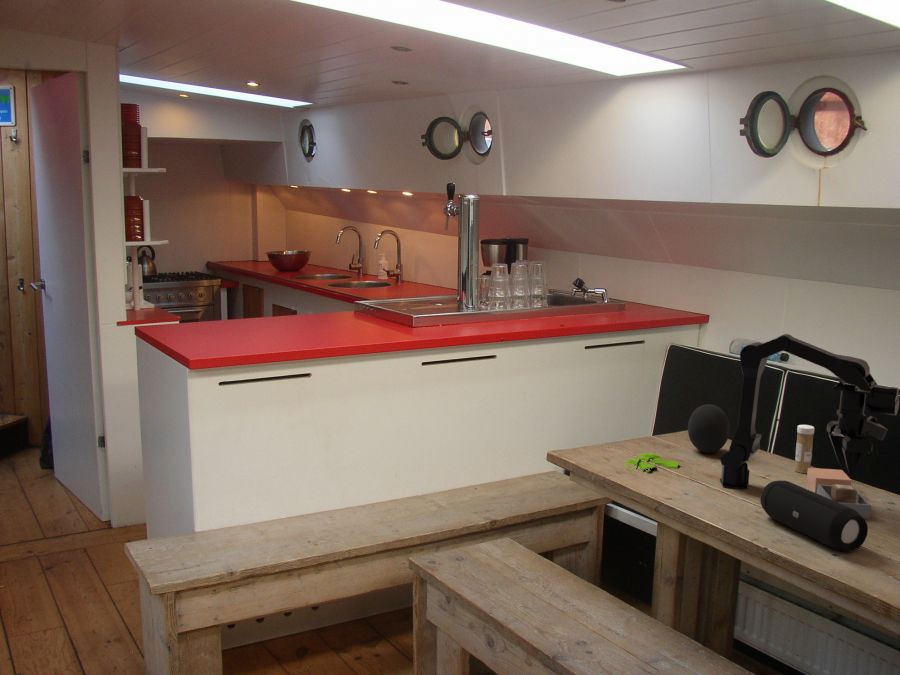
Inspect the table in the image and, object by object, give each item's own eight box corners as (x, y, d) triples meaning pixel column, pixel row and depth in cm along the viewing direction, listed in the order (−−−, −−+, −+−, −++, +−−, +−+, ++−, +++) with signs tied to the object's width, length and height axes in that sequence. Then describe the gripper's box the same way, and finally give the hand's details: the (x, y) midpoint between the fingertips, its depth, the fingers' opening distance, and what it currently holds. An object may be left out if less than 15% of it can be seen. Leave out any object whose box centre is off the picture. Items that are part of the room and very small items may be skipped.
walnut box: (834, 509, 228) (836, 488, 227) (829, 504, 232) (832, 483, 231) (854, 511, 227) (856, 489, 226) (850, 505, 231) (852, 484, 230)
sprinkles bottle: (811, 474, 256) (815, 428, 254) (794, 472, 258) (798, 427, 255) (809, 469, 261) (814, 425, 258) (793, 468, 262) (797, 423, 260)
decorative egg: (697, 458, 269) (701, 410, 267) (679, 447, 281) (682, 400, 279) (735, 457, 272) (739, 409, 269) (715, 445, 284) (718, 399, 281)
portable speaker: (756, 518, 221) (759, 479, 219) (787, 513, 225) (790, 475, 223) (835, 558, 198) (839, 514, 196) (868, 552, 201) (873, 509, 200)
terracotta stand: (814, 494, 239) (816, 478, 239) (806, 483, 248) (807, 467, 247) (849, 496, 238) (851, 480, 237) (840, 485, 247) (841, 469, 246)
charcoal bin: (831, 516, 223) (832, 502, 223) (816, 497, 237) (817, 484, 236) (869, 518, 222) (871, 505, 221) (853, 499, 236) (854, 486, 235)
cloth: (651, 453, 276) (651, 446, 275) (704, 473, 257) (705, 465, 257) (600, 462, 265) (600, 455, 265) (652, 484, 247) (652, 475, 247)
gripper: (898, 420, 215) (891, 482, 218) (873, 402, 233) (867, 459, 236) (849, 417, 217) (843, 479, 219) (828, 399, 235) (823, 457, 237)
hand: (845, 468), depth 228 cm, fingers open, 9 cm apart
